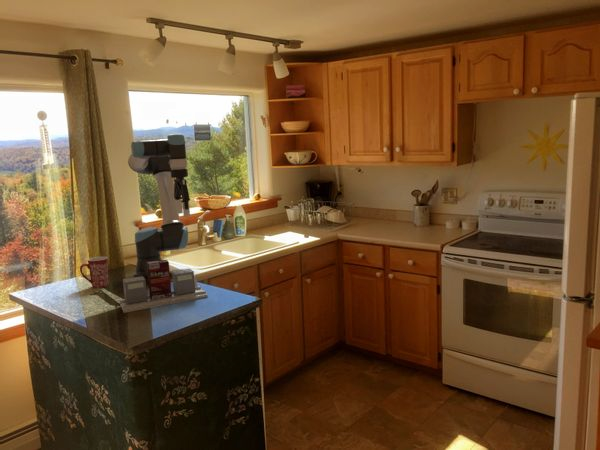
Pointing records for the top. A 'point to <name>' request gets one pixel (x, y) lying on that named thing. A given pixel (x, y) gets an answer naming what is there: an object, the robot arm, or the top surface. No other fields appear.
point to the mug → (97, 271)
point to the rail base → (181, 292)
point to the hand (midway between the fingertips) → (183, 215)
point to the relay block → (195, 281)
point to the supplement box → (159, 279)
